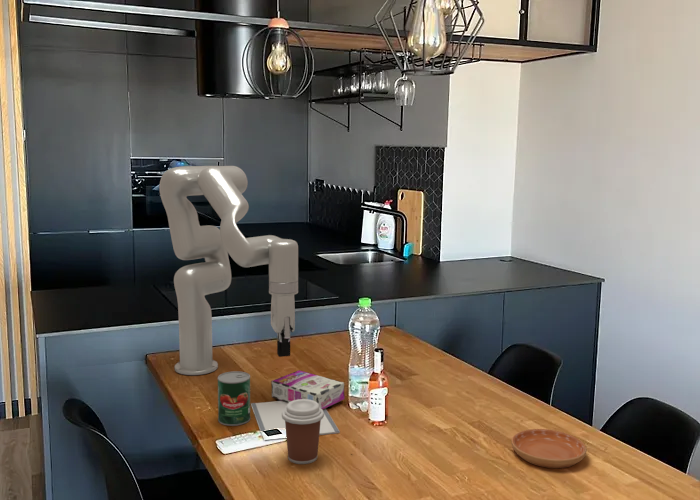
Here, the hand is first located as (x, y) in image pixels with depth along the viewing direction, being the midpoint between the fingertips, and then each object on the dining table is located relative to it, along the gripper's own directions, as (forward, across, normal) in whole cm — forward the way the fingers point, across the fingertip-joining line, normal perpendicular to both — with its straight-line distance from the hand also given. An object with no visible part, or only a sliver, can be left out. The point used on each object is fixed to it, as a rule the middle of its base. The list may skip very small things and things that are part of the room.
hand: (283, 355), depth 180 cm
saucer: (+13, +46, +51) cm, 70 cm away
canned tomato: (+12, +10, -14) cm, 21 cm away
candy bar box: (+9, -4, +1) cm, 10 cm away
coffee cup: (+12, +34, -2) cm, 36 cm away
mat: (+12, +13, 0) cm, 18 cm away
